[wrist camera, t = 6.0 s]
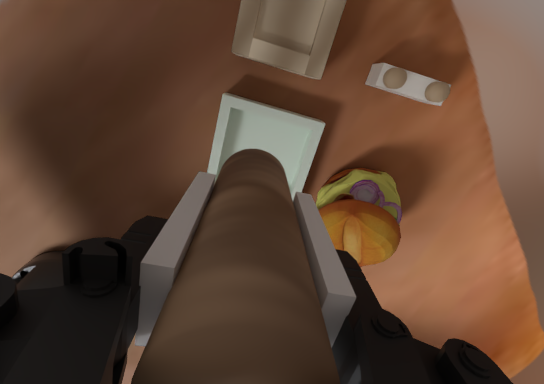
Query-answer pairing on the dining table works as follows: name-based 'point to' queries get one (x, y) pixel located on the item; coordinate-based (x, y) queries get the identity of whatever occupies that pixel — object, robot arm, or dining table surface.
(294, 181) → the tray
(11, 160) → the dining table surface
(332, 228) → the cheeseburger
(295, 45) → the jig block
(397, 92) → the rail
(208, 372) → the dowel
